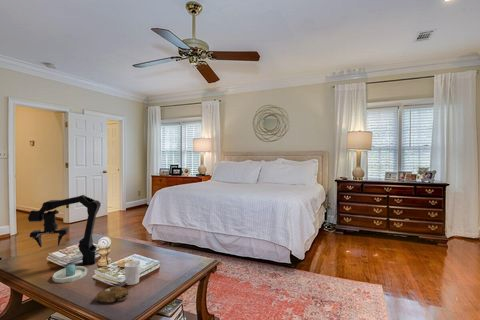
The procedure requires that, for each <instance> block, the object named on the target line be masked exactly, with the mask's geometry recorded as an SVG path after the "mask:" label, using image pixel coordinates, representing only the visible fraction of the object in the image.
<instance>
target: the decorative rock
mask: <svg viewBox="0 0 480 320" xmlns="http://www.w3.org/2000/svg"><path fill="white" fill-rule="evenodd" d="M129 293H130V292H129V290H128V289H126V288H125V287H121V286H110V287H108V288H105V289H103V290H101V291H100V292H98V293H97V294H96V295H95V297H94V299H95V301H97V302H100V303H114V302H116V301H118V302H123V301H125V300H126V299H127V298H128V297H129V295H130V294H129Z"/></svg>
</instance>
